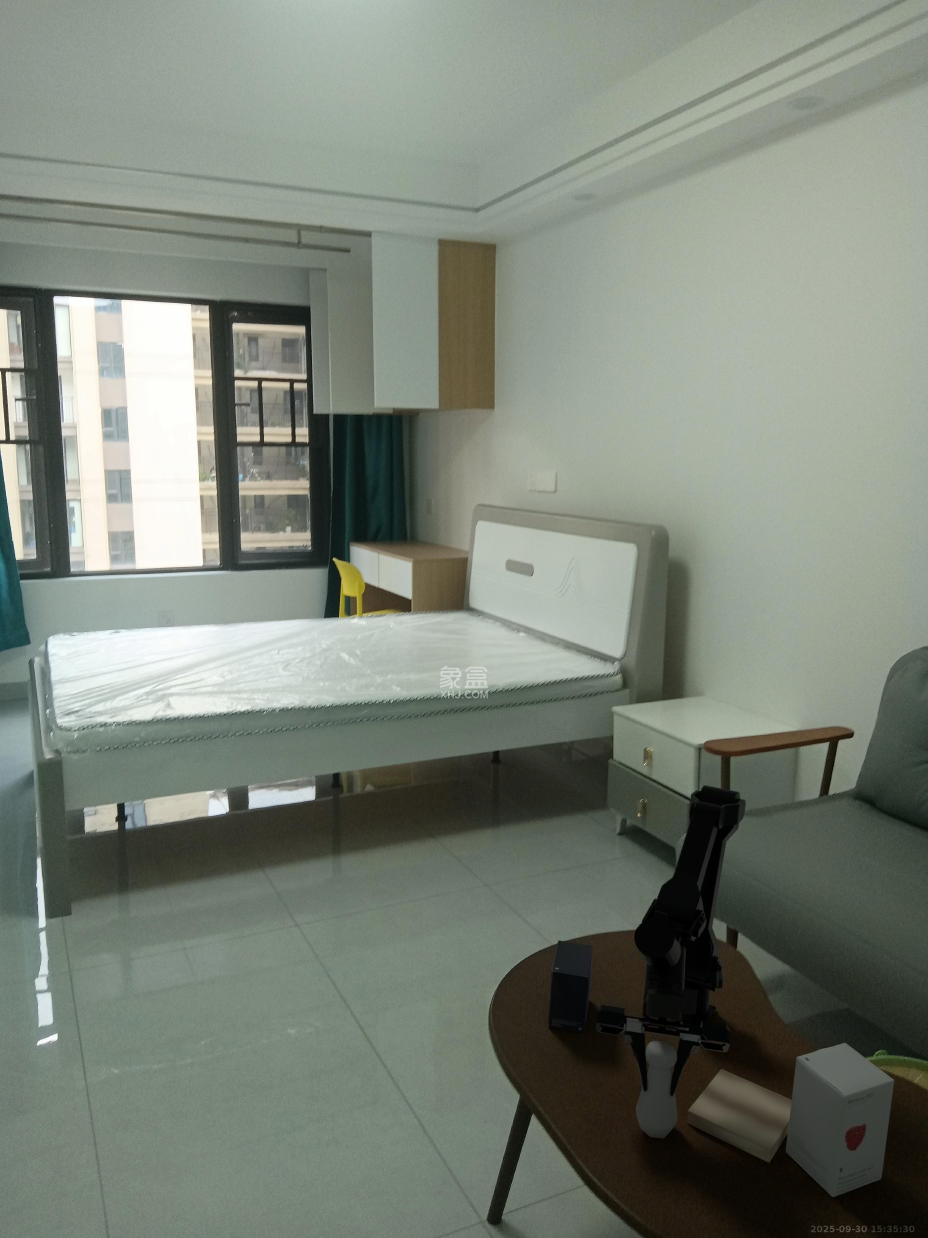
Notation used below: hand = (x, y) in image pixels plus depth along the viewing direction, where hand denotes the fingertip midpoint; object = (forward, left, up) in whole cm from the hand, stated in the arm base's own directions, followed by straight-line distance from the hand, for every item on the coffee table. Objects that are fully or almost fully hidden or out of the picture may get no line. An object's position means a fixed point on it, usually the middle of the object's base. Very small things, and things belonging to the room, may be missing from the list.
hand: (658, 1093), depth 131 cm
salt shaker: (-1, -1, -7) cm, 7 cm away
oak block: (-11, +8, -7) cm, 16 cm away
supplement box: (-10, +21, -7) cm, 25 cm away
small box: (-17, -25, -7) cm, 31 cm away
